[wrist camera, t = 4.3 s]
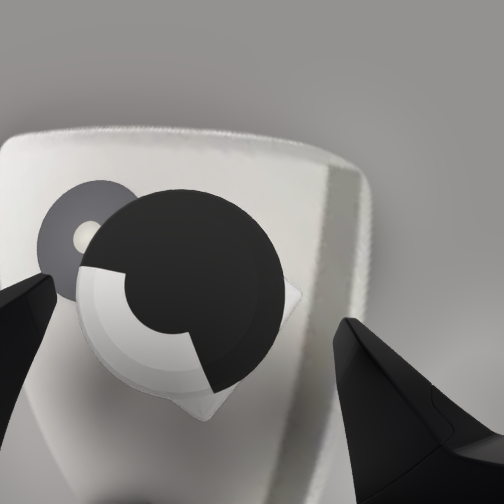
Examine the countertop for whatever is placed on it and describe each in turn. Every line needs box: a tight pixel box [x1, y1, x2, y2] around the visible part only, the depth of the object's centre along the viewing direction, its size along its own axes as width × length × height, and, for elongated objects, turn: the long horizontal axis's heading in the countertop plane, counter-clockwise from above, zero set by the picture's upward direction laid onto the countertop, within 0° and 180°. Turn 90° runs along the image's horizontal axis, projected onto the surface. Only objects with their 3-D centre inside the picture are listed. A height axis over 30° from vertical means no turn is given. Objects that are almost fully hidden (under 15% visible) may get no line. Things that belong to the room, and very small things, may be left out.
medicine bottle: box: [76, 189, 302, 422], centre depth 13 cm, size 7×7×12 cm
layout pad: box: [37, 180, 138, 301], centre depth 19 cm, size 9×9×1 cm
